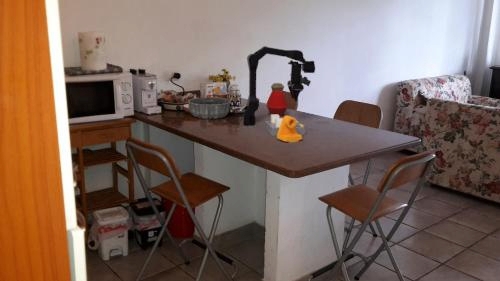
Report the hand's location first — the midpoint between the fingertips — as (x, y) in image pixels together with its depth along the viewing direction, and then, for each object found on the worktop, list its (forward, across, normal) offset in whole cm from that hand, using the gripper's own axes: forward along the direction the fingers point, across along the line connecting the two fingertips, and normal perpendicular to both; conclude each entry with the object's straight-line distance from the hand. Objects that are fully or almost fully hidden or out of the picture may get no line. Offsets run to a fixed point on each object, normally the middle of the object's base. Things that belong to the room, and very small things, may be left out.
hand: (294, 99), depth 264 cm
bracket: (+15, -38, +8) cm, 41 cm away
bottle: (+14, +26, +6) cm, 30 cm away
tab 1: (+12, -14, +13) cm, 23 cm away
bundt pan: (+15, +20, +48) cm, 55 cm away
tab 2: (+12, -24, +12) cm, 30 cm away
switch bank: (+14, -19, +8) cm, 25 cm away
